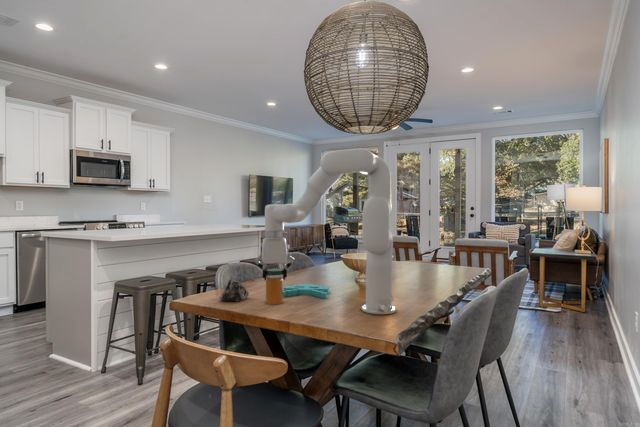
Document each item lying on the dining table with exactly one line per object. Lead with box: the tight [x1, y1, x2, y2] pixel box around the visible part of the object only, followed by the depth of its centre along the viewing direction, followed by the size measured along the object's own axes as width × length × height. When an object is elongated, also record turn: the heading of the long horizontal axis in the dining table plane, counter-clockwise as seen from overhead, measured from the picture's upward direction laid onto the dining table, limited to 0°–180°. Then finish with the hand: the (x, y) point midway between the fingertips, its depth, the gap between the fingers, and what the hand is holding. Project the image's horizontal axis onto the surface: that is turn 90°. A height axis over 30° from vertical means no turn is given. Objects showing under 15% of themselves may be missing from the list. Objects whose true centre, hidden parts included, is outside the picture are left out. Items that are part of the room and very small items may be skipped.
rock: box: [219, 278, 250, 302], centre depth 169 cm, size 13×10×10 cm
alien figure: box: [282, 283, 330, 299], centre depth 184 cm, size 20×2×20 cm
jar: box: [265, 275, 284, 305], centre depth 165 cm, size 7×7×10 cm
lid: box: [266, 268, 284, 276], centre depth 165 cm, size 7×7×2 cm
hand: (274, 279), depth 165 cm, fingers closed on lid, 6 cm apart
